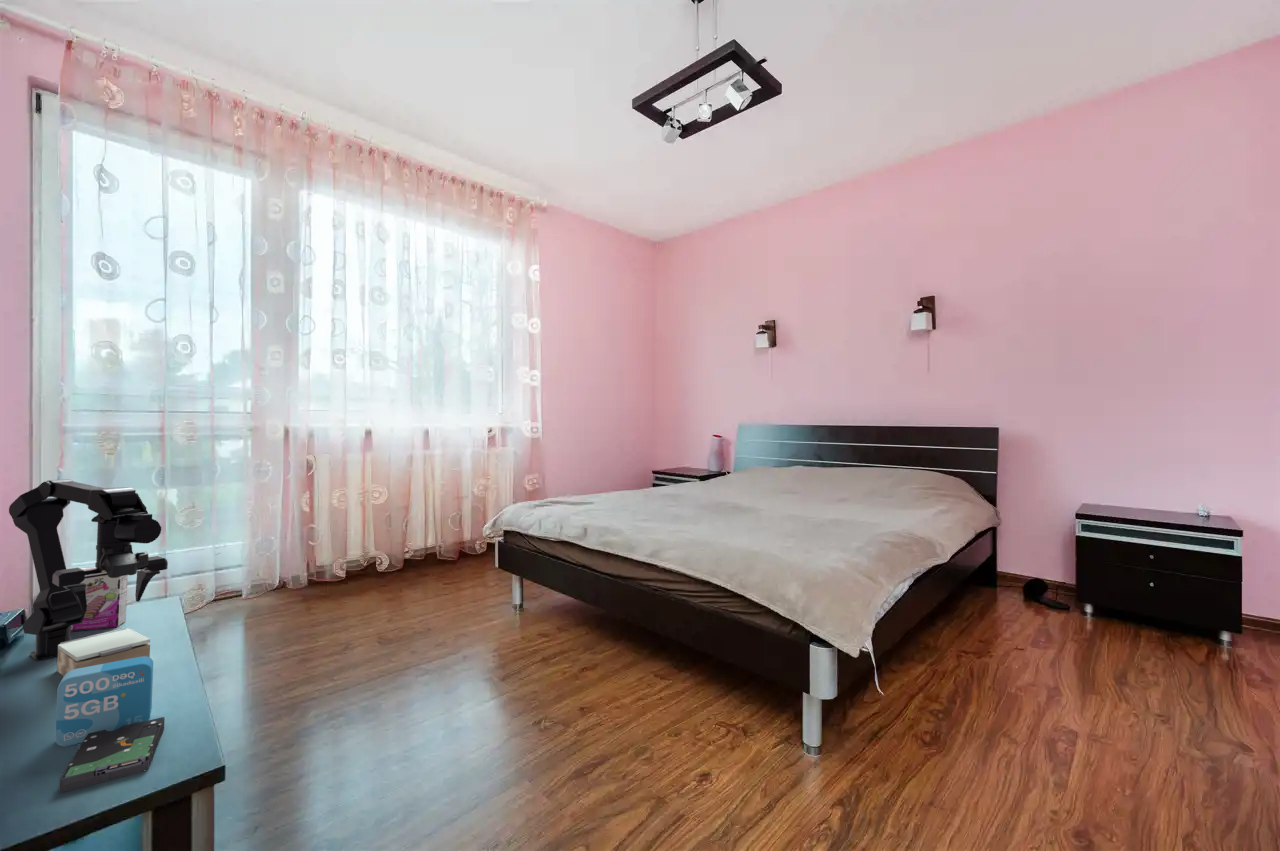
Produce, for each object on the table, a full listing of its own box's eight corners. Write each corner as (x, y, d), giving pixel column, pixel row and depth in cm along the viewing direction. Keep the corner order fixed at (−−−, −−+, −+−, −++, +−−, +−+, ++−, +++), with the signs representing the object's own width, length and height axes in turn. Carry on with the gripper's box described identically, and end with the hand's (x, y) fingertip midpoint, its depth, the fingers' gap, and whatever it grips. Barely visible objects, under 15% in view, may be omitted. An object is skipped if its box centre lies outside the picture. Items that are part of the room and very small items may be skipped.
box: (57, 670, 119) (57, 648, 119) (128, 652, 130) (128, 632, 130) (75, 687, 112) (76, 663, 112) (149, 666, 123) (150, 644, 123)
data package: (54, 750, 91) (57, 680, 91) (60, 738, 94) (62, 670, 94) (149, 726, 98) (151, 661, 98) (151, 716, 102) (153, 653, 102)
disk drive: (85, 749, 92) (58, 797, 80) (86, 733, 92) (58, 778, 80) (164, 730, 98) (150, 772, 86) (165, 715, 98) (150, 755, 86)
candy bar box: (63, 633, 141) (65, 572, 141) (73, 627, 145) (75, 567, 146) (118, 627, 146) (120, 568, 146) (126, 621, 150) (128, 564, 150)
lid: (56, 647, 120) (56, 643, 120) (127, 631, 130) (127, 627, 130) (78, 662, 112) (78, 657, 112) (152, 643, 122) (152, 639, 122)
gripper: (67, 552, 113) (64, 625, 113) (177, 538, 129) (175, 602, 129) (53, 546, 119) (50, 615, 119) (159, 533, 135) (157, 594, 135)
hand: (111, 606), depth 125 cm, fingers open, 9 cm apart
